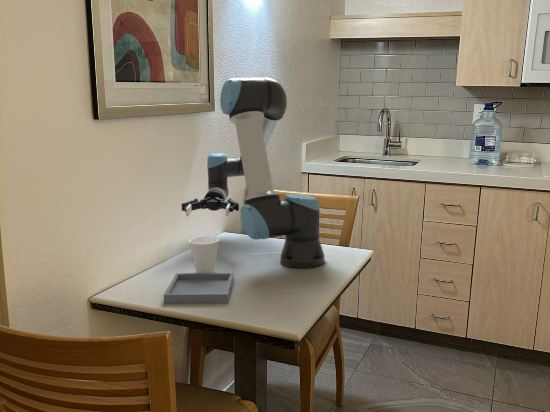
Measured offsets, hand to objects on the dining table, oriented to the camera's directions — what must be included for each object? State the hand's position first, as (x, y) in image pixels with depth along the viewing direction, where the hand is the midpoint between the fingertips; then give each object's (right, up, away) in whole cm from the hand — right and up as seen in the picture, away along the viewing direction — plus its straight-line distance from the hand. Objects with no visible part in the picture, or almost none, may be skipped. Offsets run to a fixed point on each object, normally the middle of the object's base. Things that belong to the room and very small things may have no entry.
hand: (207, 212), depth 185 cm
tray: (+1, -23, -23) cm, 32 cm away
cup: (0, -20, -6) cm, 21 cm away
